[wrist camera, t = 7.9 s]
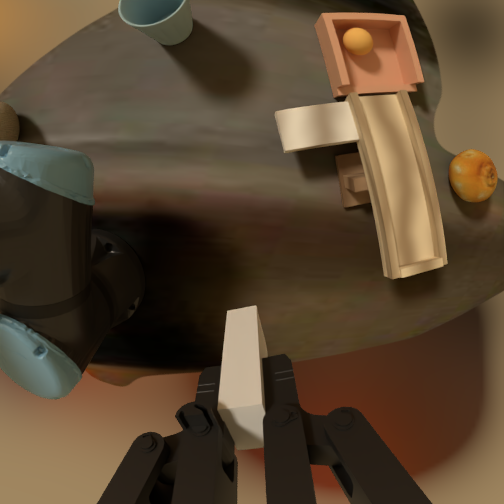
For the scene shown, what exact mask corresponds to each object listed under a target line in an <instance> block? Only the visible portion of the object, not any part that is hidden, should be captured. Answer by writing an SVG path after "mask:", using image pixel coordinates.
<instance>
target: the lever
mask: <svg viewBox="0 0 504 504" xmlns="http://www.w3.org/2000/svg"><path fill="white" fill-rule="evenodd" d="M275 118H276V122H277V126H278V130H279V134H280V138H281V142H282V146H283V150H284V154H285V153H290V152H295V151H301V150H307V149H313V148H319V147H325V146H331V145H338V144H345V143H352V142H357V146H358V149H359V153H360V157H361V161H362V165H363V169H364V173H365V177H366V181H367V185H368V190H369V194H370V199H371V203H372V208H373V213H374V218H375V223H376V228H377V234H378V240H379V245H380V251H381V258H382V264H383V271H384V276H386V277H388V278H391V279H396V278H400V277H401V278H404V277H407V276H411V275H415V274H418V273H422V272H425V271H429V270H432V269H436V268H439V267H442V266H443V265H445V264H447V255H446V247H445V239H444V232H443V226H442V220H441V214H440V208H439V203H438V198H437V193H436V188H435V184H434V179H433V175H432V171H431V167H430V163H429V159H428V155H427V151H426V148H425V144H424V141H423V137H422V134H421V131H420V127H419V124H418V121H417V118H416V115H415V112H414V109H413V106H412V104H411V101H410V98H409V95H408V93H407V90H400V91H399V92H398V93H397V94H396V95H376V96H362V97H359V96H358V93H357V92H354V93H349V95H348V96H347V98H346V99H345V101H344V102H337V103H328V104H320V105H313V106H306V107H299V108H293V109H287V110H281V111H275Z"/></svg>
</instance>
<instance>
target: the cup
mask: <svg viewBox="0 0 504 504" xmlns="http://www.w3.org/2000/svg"><path fill="white" fill-rule="evenodd" d="M119 14H120V17H121V18H122V19H123V21H124V22H126V23H127V24H129V25H130V26H132V27H134V28H136V29H138V30H140V31H141V32H143V33H145V34H146V35H148V36H149V37H151V38H153V39H154V40H156V41H157V42H159V43H161V44H163V45H175V44H178V43H180V42H182V41H184V40H185V39H186V38H187V37H188V36H189V35H190V33H191V32H192V27H193V21H192V14H191V7H190V1H189V0H120V2H119Z"/></svg>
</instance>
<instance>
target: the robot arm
mask: <svg viewBox="0 0 504 504" xmlns="http://www.w3.org/2000/svg"><path fill="white" fill-rule="evenodd" d="M93 181H94V167H93V163H92V161H91V159H90V158H89V157H88V156H87V155H86V154H84V153H82V152H79V151H75V150H71V149H66V148H60V147H54V146H48V145H41V144H34V143H26V142H17V141H0V368H1V369H2V371H3V372H5V374H7V375H8V376H9V377H10V378H11V379H12V380H13V381H14V382H15V383H17V384H18V385H19V386H21V387H23V388H24V389H25V390H27V391H29V392H31V393H33V394H35V395H37V396H40V397H43V398H47V399H59V398H62V397H65V396H67V395H68V394H69V393H70V392H71V390H72V389H73V388H74V387H75V385H76V384H77V383H78V382H79V381H80V380H81V377H82V374H83V372H84V371H85V369H86V367H87V366H88V364H89V362H90V360H91V359H92V357H93V356H94V354H95V352H96V351H97V349H98V347H99V346H100V344H101V343H102V341H103V339H104V338H105V336H106V335H107V333H108V331H109V330H110V329H111V328H113V327H115V326H117V325H118V324H120V323H122V322H124V321H126V320H127V319H129V318H130V317H131V316H132V315H133V314H134V313H135V311H136V310H137V308H138V307H139V305H140V303H141V302H142V299H143V297H144V293H145V286H146V283H145V274H144V270H143V267H142V264H141V262H140V260H139V258H138V256H137V255H136V253H135V252H134V251H133V249H132V248H131V247H130V246H129V245H128V244H127V243H126V242H125V241H124V240H123V239H121V238H120V237H118V236H117V235H115V234H113V233H111V232H108V231H105V230H100V229H92V212H93V205H94V204H95V199H94V198H93ZM175 417H176V418H177V420H178V422H179V423H180V425H181V427H182V428H183V431H181V432H179V433H177V434H174V435H170V436H167V437H164V438H163V437H162V436H161V435H160V434H158V433H155V432H147V433H144V434H142V435H140V436H138V437H137V438H136V440H135V441H134V442H133V443H132V445H131V447H130V449H129V450H128V452H127V454H126V455H125V457H124V459H123V461H122V462H121V464H120V466H119V467H118V469H117V471H116V473H115V474H114V476H113V478H112V479H111V481H110V483H109V484H108V486H107V488H106V489H105V491H104V493H103V494H102V496H101V498H100V500H99V501H98V503H97V504H237V466H238V465H237V464H238V462H237V458H236V456H235V454H234V445H235V446H236V448H237V450H246V449H255V448H262V447H264V460H265V479H266V495H267V496H266V497H267V504H317V503H316V497H315V491H314V485H313V479H312V473H311V467H310V464H313V465H328V466H329V467H330V469H331V471H332V473H333V474H334V476H335V477H336V479H337V481H338V483H339V485H340V486H341V488H342V490H343V491H344V493H345V495H346V496H347V498H348V500H349V502H350V503H351V504H432V503H431V501H430V500H429V499H428V498H427V497H426V495H425V494H424V493H423V491H422V490H421V489H420V488H419V486H418V485H417V484H416V482H415V481H414V480H413V479H412V477H411V476H410V475H409V474H408V472H407V471H406V470H405V468H404V467H403V466H402V465H401V463H400V462H399V461H398V460H397V458H396V457H395V456H394V454H393V453H392V452H391V450H390V449H389V448H388V447H387V445H386V444H385V443H384V441H383V440H382V439H381V438H380V436H379V435H378V434H377V433H376V431H375V430H374V429H373V427H372V426H371V425H370V423H369V422H368V421H367V420H366V418H365V417H364V416H363V415H362V413H361V412H360V411H358V410H357V409H355V408H352V407H341V408H337V409H335V410H333V411H331V412H330V413H329V414H328V415H327V416H324V415H323V416H322V415H312V414H310V413H307V412H306V411H304V410H303V409H302V408H301V407H300V404H299V400H298V394H297V389H296V383H295V378H294V373H293V368H292V363H291V360H290V359H289V358H288V357H287V356H286V355H285V354H281V355H276V356H271V357H268V356H267V347H266V343H265V338H264V334H263V330H262V326H261V322H260V318H259V314H258V310H257V306H256V305H255V306H250V307H245V308H240V309H235V310H229V311H227V318H226V327H225V337H224V347H223V357H222V365H221V366H214V367H207V368H205V369H204V370H203V372H202V373H201V375H200V377H199V382H198V388H197V394H196V400H195V402H191V403H187V404H186V405H184V406H182V407H181V408H180V409H179V410H178V411H177V413H176V415H175Z"/></svg>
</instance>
